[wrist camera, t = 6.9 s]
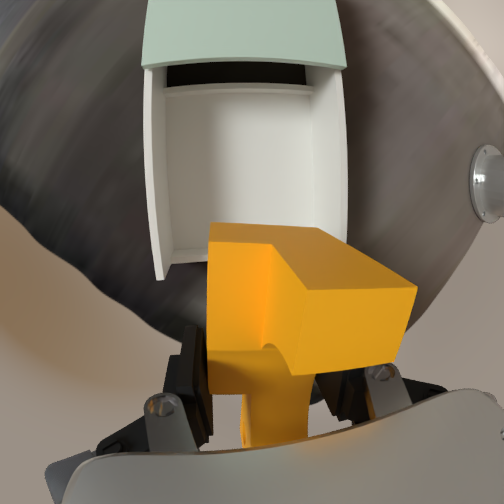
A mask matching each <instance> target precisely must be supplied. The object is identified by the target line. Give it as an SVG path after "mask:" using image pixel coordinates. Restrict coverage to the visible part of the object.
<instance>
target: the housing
mask: <svg viewBox="0 0 504 504" xmlns="http://www.w3.org/2000/svg"><path fill="white" fill-rule="evenodd" d="M305 74H306V85H294V84H277V83H215V84H199V85H187V86H177V87H168V88H167V66H162V67H155V68H149V69H145V76H144V161H145V180H146V194H147V206H148V217H149V226H150V235H151V244H152V251H153V259H154V266H155V273H156V279H157V280H164V279H165V277H166V274H167V272H168V270H169V268H170V265H171V264H174V263H188V262H202V261H208V240H209V231H210V223H211V222H225V223H247V224H266V225H284V226H300V227H316V228H319V229H321V230H323V231H325V232H326V233H328V234H330V235H332V236H334V237H335V238H337V239H339V240H341V241H342V242H344V243H346V241H347V210H348V168H347V138H346V120H345V106H344V95H343V85H342V75H341V70H340V69H334V68H327V67H320V66H312V65H305Z"/></svg>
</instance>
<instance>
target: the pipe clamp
mask: <svg viewBox="0 0 504 504" xmlns="http://www.w3.org/2000/svg"><path fill="white" fill-rule="evenodd" d="M417 289H418V287H417V286H416V285H414V284H413V283H411V282H409V281H408V280H406V279H405V278H403V277H401V276H400V275H398V274H396V273H395V272H393V271H392V270H390V269H388V268H387V267H385V266H383V265H382V264H380V263H378V262H377V261H375V260H373V259H372V258H370V257H368V256H367V255H365V254H363V253H361V252H360V251H358V250H356V249H355V248H353V247H351V246H349V245H348V244H346V243H344V242H342V241H341V240H339V239H337V238H335V237H334V236H332V235H330V234H328V233H326V232H325V231H323V230H321V229H319V228H316V227H300V226H284V225H266V224H247V223H225V222H211V223H210V231H209V240H208V272H207V363H208V388H209V393H210V394H216V395H222V394H223V395H224V394H225V395H227V394H228V395H230V394H231V395H232V394H233V395H234V394H243V395H242V408H241V420H240V433H241V440H242V447H243V448H249V447H257V446H264V445H271V444H277V443H283V442H288V441H293V440H298V439H303V438H308V411H309V402H310V395H311V390H312V385H313V382H314V378H315V375H316V373H326V372H334V371H342V370H349V369H356V368H362V367H368V366H374V365H379V364H385V363H390V362H394V360H395V358H396V355H397V352H398V350H399V347H400V344H401V341H402V338H403V336H404V333H405V330H406V327H407V323H408V320H409V317H410V314H411V310H412V307H413V304H414V300H415V296H416V293H417Z"/></svg>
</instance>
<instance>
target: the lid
mask: <svg viewBox="0 0 504 504" xmlns="http://www.w3.org/2000/svg"><path fill="white" fill-rule="evenodd" d="M222 61H260V62H281V63H293V64H304V65H312V66H320V67H327V68H334V69H340V70H343V69H345V68H346V67H347V64H346V57H345V50H344V44H343V37H342V32H341V26H340V21H339V16H338V11H337V6H336V1H335V0H149V1H148V7H147V14H146V22H145V31H144V40H143V51H142V65H141V66H142V67H143V69H149V68H155V67H162V66H170V65H179V64H189V63H202V62H222Z"/></svg>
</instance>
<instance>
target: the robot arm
mask: <svg viewBox="0 0 504 504" xmlns="http://www.w3.org/2000/svg"><path fill="white" fill-rule="evenodd" d="M470 194H471V200H472V204H473V207H474V210H475V212H476V214H477V216H478V217H479V218H480V220H482V221H483V222H487V223H494V222H496V221H497V220H498V219H499V218H500V217H504V156H503V155H501V153H500V152H499V150H498V149H497V148H496V147H494V146H492V145H482V146H480V147H479V148H478V149H477V151H476V153H475V154H474V157H473V160H472V164H471V169H470ZM315 380H316V382H317V384H318V386H319V389H320V391H321V393H322V395H323V397H324V399H325V401H326V403H327V405H328V408H329V410H330V412H331V414H332V415H333V416H337V418H338V420H339V421H344V420H347V419H348V420H351V421H352V426H350V427H347V428H343V429H340V430H336V431H332V432H329V433H325V434H321V435H317V436H312V437H308V438H303V439H298V440H293V441H288V442H283V443H277V444H271V445H264V446H257V447H249V448H241V449H231V450H217V451H200V450H199V447H201V446H202V445H203V444H204V443H209V436H212V435H213V405H212V394H210V393H209V388H208V363H207V349H206V343H205V338H204V332H203V328H198V325H192V326H185V329H184V335H183V341H182V348H181V353H180V355H170V357H169V362H168V367H167V372H166V377H165V382H164V387H163V393H159V394H156V395H153V396H152V397H150V398H149V399H148V400H147V401H146V403H145V405H144V416H142V417H141V418H139V419H137V420H136V421H134V422H133V423H131V424H129V425H127V426H126V427H124V428H122V429H121V430H119V431H117V432H115V433H114V434H112V435H110V436H109V437H107V438H105V439H103V440H102V441H101V442H100V443H99V444H98V446H97V448H96V451H93V452H91V451H90V450H88V451H85V452H82V453H80V454H77V455H74V456H72V457H69V458H66V459H64V460H61V461H57V462H55V463H52V464H50V465H49V466H48V467H47V468H46V471H45V479H46V482H47V485H48V488H49V491H50V493H51V496H52V499H53V501H54V503H55V504H504V409H502V407H501V406H500V405H499V404H498V403H497V400H496V398H495V397H494V396H493V395H492V394H490V393H487V392H482V391H479V390H476V389H458V390H452V391H449V392H448V391H447V389H445V388H443V387H442V386H439V385H434V384H430V383H425V382H419V381H415V380H410V379H406V378H402V377H401V375H400V372H399V370H398V369H397V367H396V366H395V365H393V364H392V363H385V364H379V365H374V366H368V367H362V368H356V369H349V370H342V371H334V372H326V373H316V375H315Z"/></svg>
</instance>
